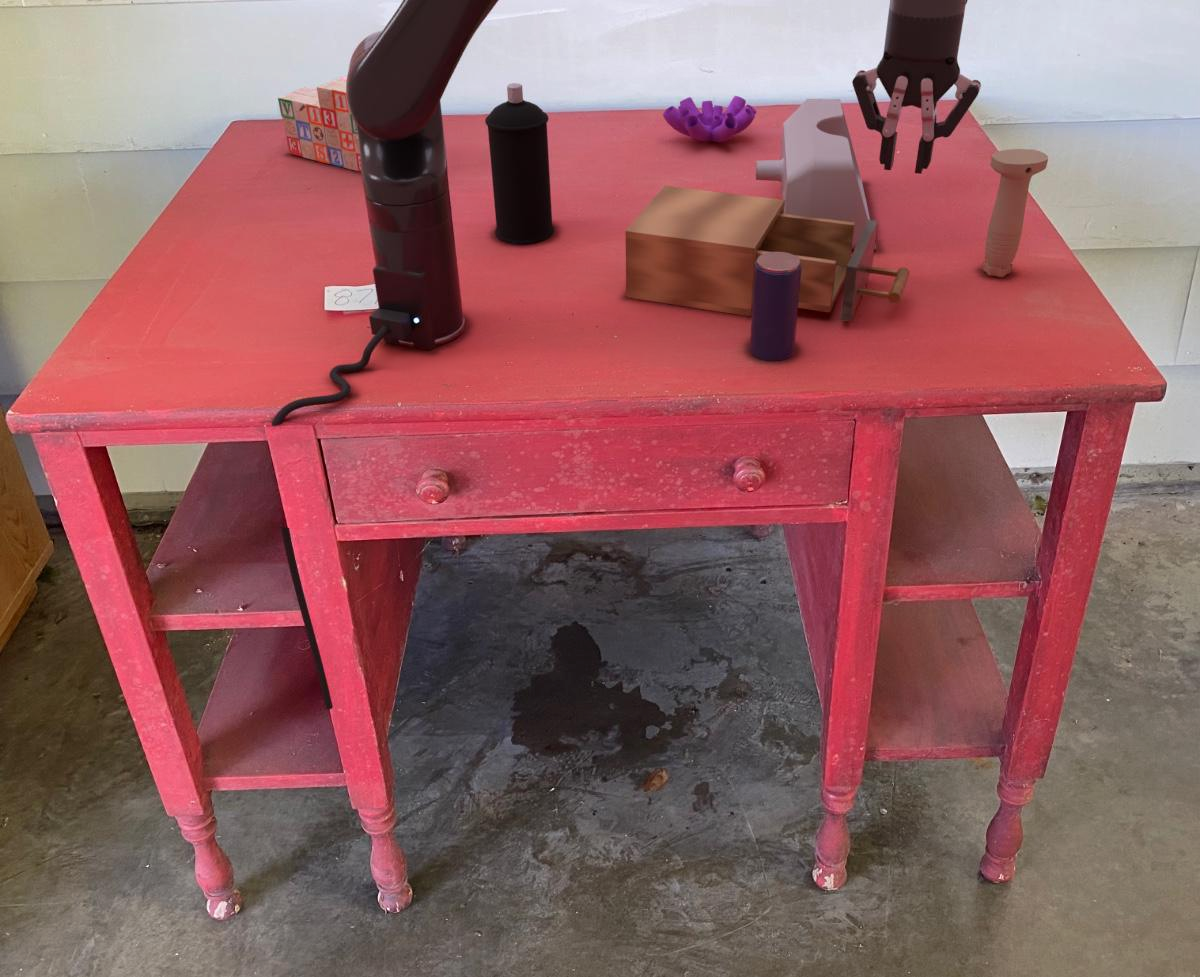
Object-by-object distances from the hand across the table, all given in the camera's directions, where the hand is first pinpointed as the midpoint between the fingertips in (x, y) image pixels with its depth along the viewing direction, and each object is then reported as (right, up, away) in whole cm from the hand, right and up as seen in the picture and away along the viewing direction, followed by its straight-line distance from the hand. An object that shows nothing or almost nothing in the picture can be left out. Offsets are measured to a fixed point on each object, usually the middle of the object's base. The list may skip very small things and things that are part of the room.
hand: (904, 168), depth 124 cm
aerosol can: (-44, 0, +30) cm, 54 cm away
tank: (-4, +3, +33) cm, 33 cm away
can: (-14, -20, +3) cm, 25 cm away
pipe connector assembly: (-16, +21, +57) cm, 63 cm away
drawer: (-7, -11, +12) cm, 18 cm away
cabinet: (-21, -9, +17) cm, 28 cm away
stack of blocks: (-74, +17, +54) cm, 93 cm away
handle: (+16, -8, +17) cm, 25 cm away
